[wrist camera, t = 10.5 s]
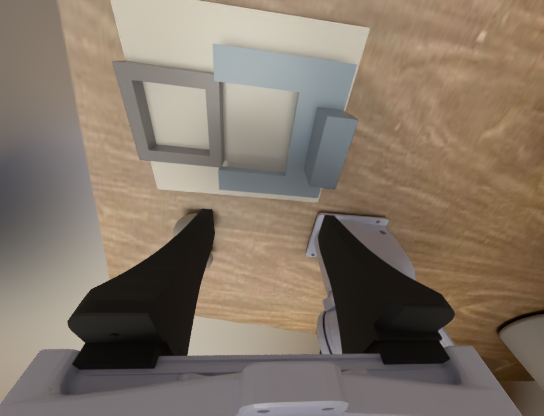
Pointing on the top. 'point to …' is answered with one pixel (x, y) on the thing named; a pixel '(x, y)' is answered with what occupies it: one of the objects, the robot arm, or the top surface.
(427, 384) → the robot arm
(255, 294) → the top surface
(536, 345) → the cylinder vase
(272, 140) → the cream rectangular board
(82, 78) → the top surface
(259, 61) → the blue frame with block
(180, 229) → the rook chess piece
